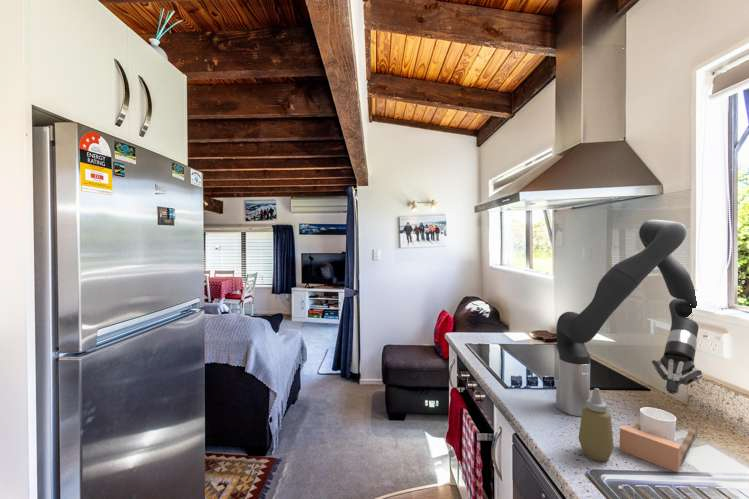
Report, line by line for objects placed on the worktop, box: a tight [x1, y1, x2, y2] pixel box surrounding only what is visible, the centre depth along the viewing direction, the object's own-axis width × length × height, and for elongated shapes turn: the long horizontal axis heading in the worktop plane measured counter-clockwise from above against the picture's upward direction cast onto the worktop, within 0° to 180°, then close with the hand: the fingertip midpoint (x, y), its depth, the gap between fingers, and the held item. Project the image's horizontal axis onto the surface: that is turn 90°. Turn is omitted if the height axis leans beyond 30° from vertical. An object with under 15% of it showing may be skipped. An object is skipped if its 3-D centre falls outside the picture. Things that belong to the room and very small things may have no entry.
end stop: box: [618, 424, 682, 473], centre depth 93 cm, size 3×12×6 cm, turn 40°
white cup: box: [639, 406, 677, 442], centre depth 97 cm, size 8×8×10 cm
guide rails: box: [632, 419, 698, 469], centre depth 101 cm, size 24×12×2 cm, turn 130°
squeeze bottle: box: [578, 387, 615, 462], centre depth 94 cm, size 8×8×18 cm
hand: (671, 392), depth 109 cm, fingers closed
